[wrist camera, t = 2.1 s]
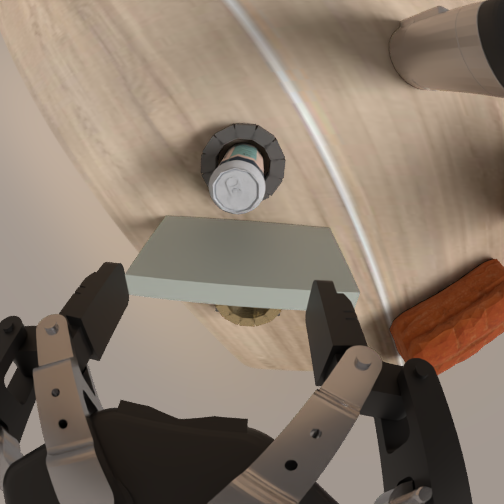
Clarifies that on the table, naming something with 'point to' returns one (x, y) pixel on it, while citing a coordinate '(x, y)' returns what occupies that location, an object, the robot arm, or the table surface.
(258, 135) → the cradle
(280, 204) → the table surface
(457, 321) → the bread
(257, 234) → the board
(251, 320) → the keeper socket
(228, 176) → the beer can
